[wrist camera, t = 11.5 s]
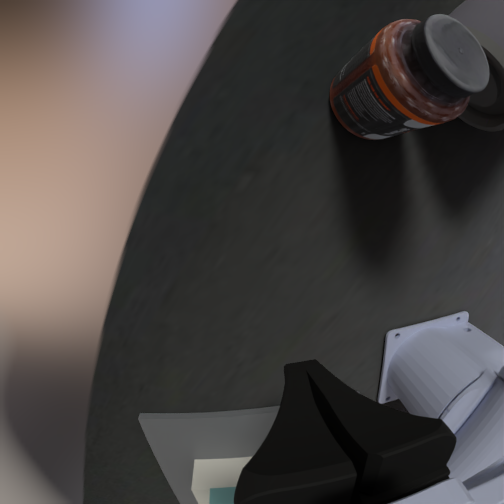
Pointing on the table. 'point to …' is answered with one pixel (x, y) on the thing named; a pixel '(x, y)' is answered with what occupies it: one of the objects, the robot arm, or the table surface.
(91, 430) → the table surface
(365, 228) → the table surface
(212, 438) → the baseplate
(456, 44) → the supplement bottle
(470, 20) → the bluetooth speaker
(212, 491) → the top brick
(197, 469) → the base brick
